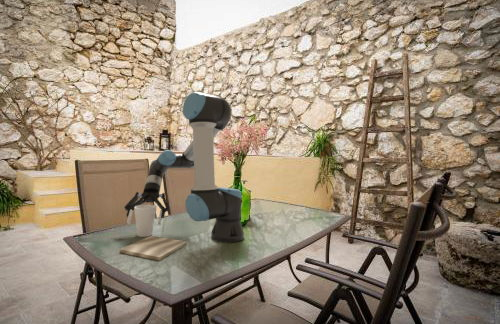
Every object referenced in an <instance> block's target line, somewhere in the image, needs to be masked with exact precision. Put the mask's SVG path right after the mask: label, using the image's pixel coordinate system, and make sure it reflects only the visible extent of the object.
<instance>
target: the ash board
mask: <svg viewBox="0 0 500 324" xmlns="http://www.w3.org/2000/svg"><path fill="white" fill-rule="evenodd" d="M187 242H188V241H185V240H179V239H173V238H167V237H161V236H155V235H150V236H146V237H144V238H142V239H140V240H138V241H135V242H133V243H132V244H129V245H126V246H124V247H121V248H120V249H119V253H122V254H127V255H131V256H136V257H140V258H146V259H150V260H156V261H161V260H163V259H165V258H166V257H168V256H170V255H171V254H172V253H174V252H176V251H178V250H180V249H181V248H183V247H185V246H187Z"/></svg>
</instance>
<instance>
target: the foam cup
mask: <svg viewBox="0 0 500 324" xmlns="http://www.w3.org/2000/svg"><path fill="white" fill-rule="evenodd" d="M156 212H157V205H156V204H141V205H138V206H135V207H134V210H133V214H134V219H135V225H136V234H137V236H138V237H140V238H141V237H142V238H147V237H149V236H153V230H154V224H155V218H156Z"/></svg>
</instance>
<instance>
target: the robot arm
mask: <svg viewBox="0 0 500 324" xmlns="http://www.w3.org/2000/svg"><path fill="white" fill-rule="evenodd" d="M182 114H183V116H184V118H185V119H186V120H188V125H189V127H190V128H192V141H191V142H190V143H189V145H188V146H187V147H186V149H185V150H184V151H183V153H175V152H174V151H173V150H170V149H164V150H162V152H161V153H160V154H159V155H158V157H156V159H154V160H152V161H151V162H150V165H149V169H148V172H147V177H146V181H145V184H144V187H143V192H142V193H139V191H136V192H135V194H134V196H133V197H132V198H131V199H130V200H129V201H128V202H127V203H126V205H125V206H124V210H125V211H126V217H127V220H126V223H127V226H129V225H131V222H132V217H133V215H134V207H135V206H138V205H144V204H145V203H155V205H156V206H158V207H159V209H160V210H159V217H158V219H157V223H158V225H159V226H162V225H161V224H162V219H164V218H165V215H166V212H170V207H169V203H168V202H167V198H166V194H165V192H162V193H160V192H161V187H162V183H163V178H164V174H165V173H166V172H167V171H168V170H169V169H191V168H193V177H194V180H193V183H194V185H193V186H192V187H191V188H190V194H188V195H187V197H186V199H185V204H184V205H185V210H186V213H187V214H188V216H189V217H190V219H191V220H192V221H195V222H206V221H210V220H214V219H215V222H214V224H213V227H212V230H211V233H210V234H211V235H210V236H211V237H210V238H211V240H213V241H215V242H219V243H229V244H230V243H237V242H240V241H242V240H244V237H245V233H244V229H243V225H242V222H241V211H242V210H241V207H242V204H243V202H242V197H243V195H242V193H241V191H240V190H241V189H237V188H231V187H223V186H222V187H221V186H219V187H218V186H217V185H216V183H215V182H216V180H215V176H216V175H215V150H214V149H215V148H214V146H215V145H214V138H215V137H216V136H217V134H219V133H220V132H221V131H223V130H224V129H225V128H226V127H227V125H229V123H230V122H231V121H230V120H231V117H232V107H231V105H230V103H229V102H228V100H226V99H225V98H224V97H221V96H215V95H213V94H208V93H204V92H197V91H194V92H191V93H189V94H188V95H187V96H186V98H185V100H184V102H183V106H182ZM159 198H160V199H162V202H163V204H162V203H161V201H160V200H159ZM163 205H164V206H163Z"/></svg>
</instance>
